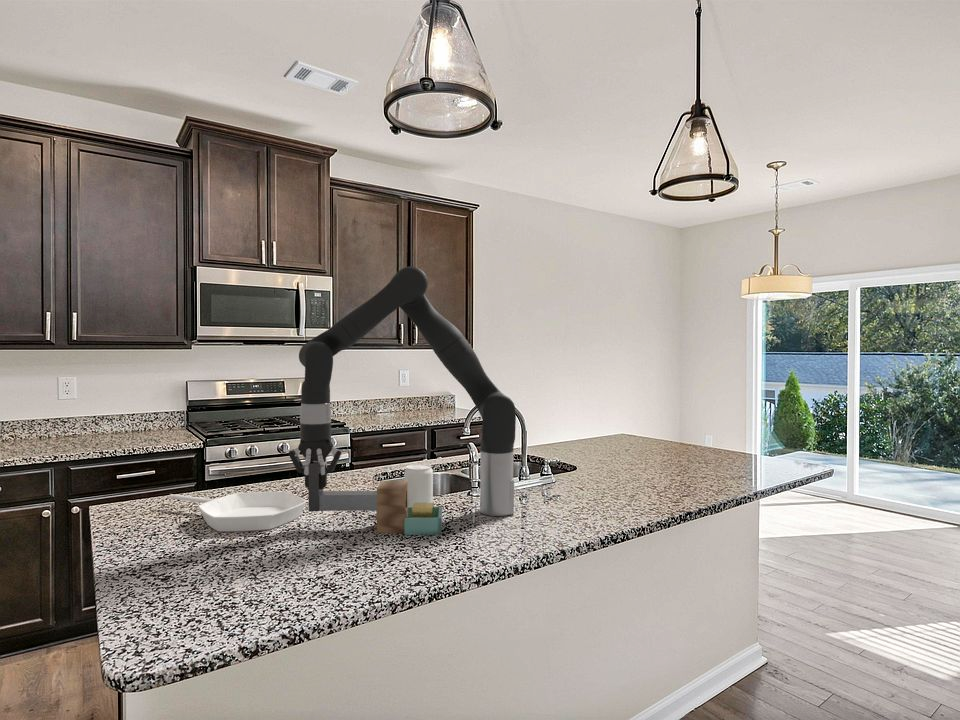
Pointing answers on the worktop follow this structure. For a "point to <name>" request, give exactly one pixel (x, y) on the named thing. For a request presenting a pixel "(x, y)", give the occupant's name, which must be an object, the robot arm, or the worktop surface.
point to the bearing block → (392, 506)
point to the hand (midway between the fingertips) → (315, 488)
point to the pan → (248, 510)
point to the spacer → (423, 510)
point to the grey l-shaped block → (337, 496)
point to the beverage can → (419, 483)
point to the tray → (424, 523)
